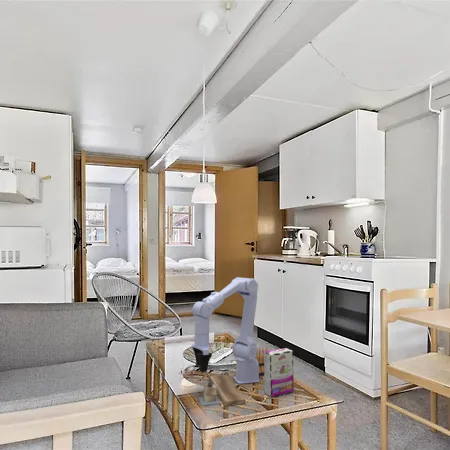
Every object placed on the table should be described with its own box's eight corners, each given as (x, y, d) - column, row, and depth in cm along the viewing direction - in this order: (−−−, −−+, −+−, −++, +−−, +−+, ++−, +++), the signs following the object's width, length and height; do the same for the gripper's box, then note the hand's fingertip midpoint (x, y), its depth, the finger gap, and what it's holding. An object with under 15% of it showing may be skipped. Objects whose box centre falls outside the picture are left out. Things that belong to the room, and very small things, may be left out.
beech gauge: (214, 397, 137) (214, 381, 137) (216, 401, 134) (216, 384, 135) (204, 398, 136) (204, 382, 136) (205, 402, 133) (205, 385, 133)
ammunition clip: (251, 377, 159) (248, 348, 163) (249, 376, 160) (246, 348, 164) (272, 373, 163) (268, 346, 167) (270, 373, 165) (266, 346, 168)
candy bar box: (286, 388, 147) (286, 347, 148) (294, 392, 143) (293, 350, 144) (263, 393, 142) (263, 351, 143) (270, 398, 138) (270, 354, 139)
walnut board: (226, 378, 158) (226, 374, 158) (245, 403, 133) (245, 399, 133) (208, 380, 155) (208, 376, 156) (224, 406, 130) (224, 401, 131)
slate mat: (215, 396, 139) (215, 395, 139) (220, 403, 133) (220, 402, 133) (197, 398, 137) (197, 397, 137) (201, 406, 131) (201, 405, 131)
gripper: (188, 329, 147) (188, 363, 146) (195, 338, 133) (195, 375, 132) (205, 328, 149) (205, 361, 148) (214, 337, 135) (213, 374, 134)
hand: (201, 368), depth 140 cm, fingers open, 7 cm apart
